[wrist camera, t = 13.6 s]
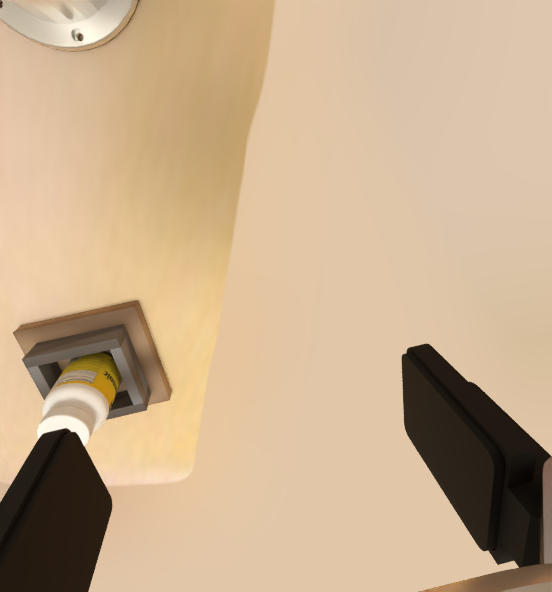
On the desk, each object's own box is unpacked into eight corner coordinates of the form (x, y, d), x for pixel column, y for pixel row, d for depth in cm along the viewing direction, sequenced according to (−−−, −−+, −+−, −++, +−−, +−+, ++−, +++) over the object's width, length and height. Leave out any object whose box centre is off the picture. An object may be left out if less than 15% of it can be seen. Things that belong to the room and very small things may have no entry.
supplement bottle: (125, 389, 40) (99, 460, 31) (72, 387, 39) (29, 460, 30) (125, 346, 38) (96, 409, 29) (69, 343, 37) (21, 408, 28)
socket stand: (20, 325, 37) (-5, 348, 33) (137, 300, 38) (128, 319, 34) (68, 415, 42) (51, 445, 38) (171, 391, 43) (166, 418, 39)
